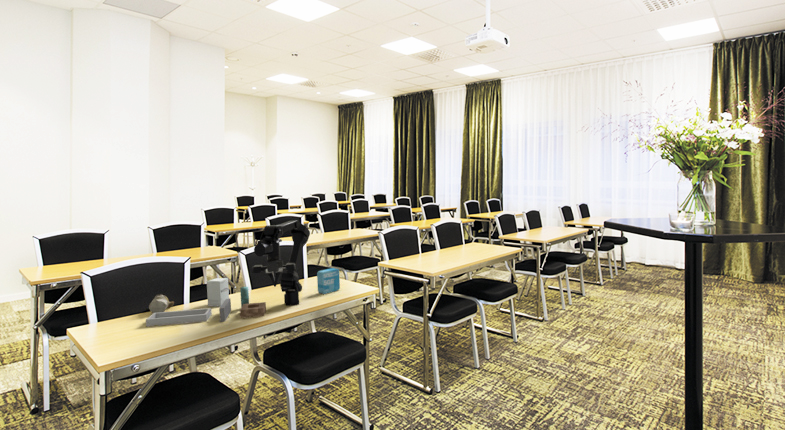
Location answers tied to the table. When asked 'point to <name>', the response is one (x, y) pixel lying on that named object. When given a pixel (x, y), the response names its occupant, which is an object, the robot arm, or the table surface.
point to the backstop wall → (225, 310)
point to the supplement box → (217, 291)
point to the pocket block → (253, 310)
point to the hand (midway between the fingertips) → (275, 286)
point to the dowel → (244, 295)
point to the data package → (328, 280)
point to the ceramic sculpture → (160, 304)
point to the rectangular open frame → (179, 317)
